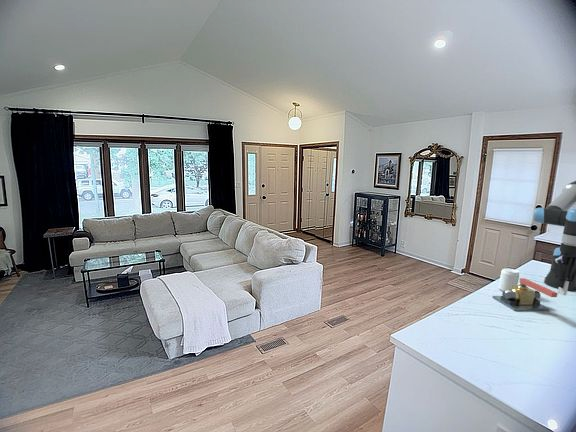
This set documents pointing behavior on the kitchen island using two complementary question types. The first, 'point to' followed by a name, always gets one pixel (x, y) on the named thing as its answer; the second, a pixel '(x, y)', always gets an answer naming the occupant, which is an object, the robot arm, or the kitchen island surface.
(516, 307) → the valve fixture
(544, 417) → the kitchen island surface
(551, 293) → the lever
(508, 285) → the beverage can
